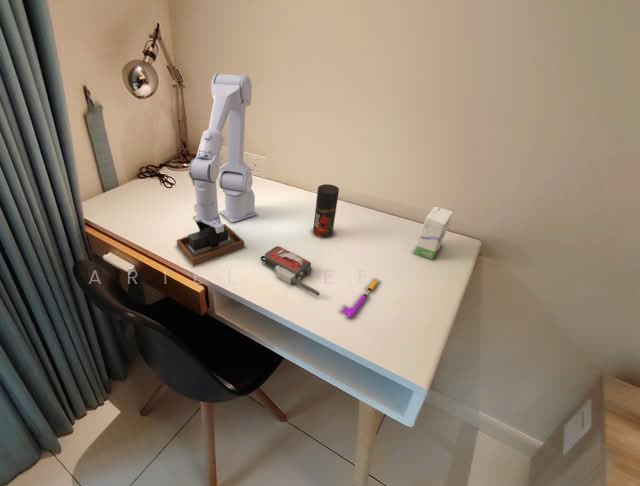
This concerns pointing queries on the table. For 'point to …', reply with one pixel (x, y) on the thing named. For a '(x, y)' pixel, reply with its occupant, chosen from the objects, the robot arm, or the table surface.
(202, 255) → the tray
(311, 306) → the table surface
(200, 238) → the dark grey eraser block
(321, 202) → the deodorant
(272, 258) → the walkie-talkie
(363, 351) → the table surface
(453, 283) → the table surface
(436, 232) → the ink box
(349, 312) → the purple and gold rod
